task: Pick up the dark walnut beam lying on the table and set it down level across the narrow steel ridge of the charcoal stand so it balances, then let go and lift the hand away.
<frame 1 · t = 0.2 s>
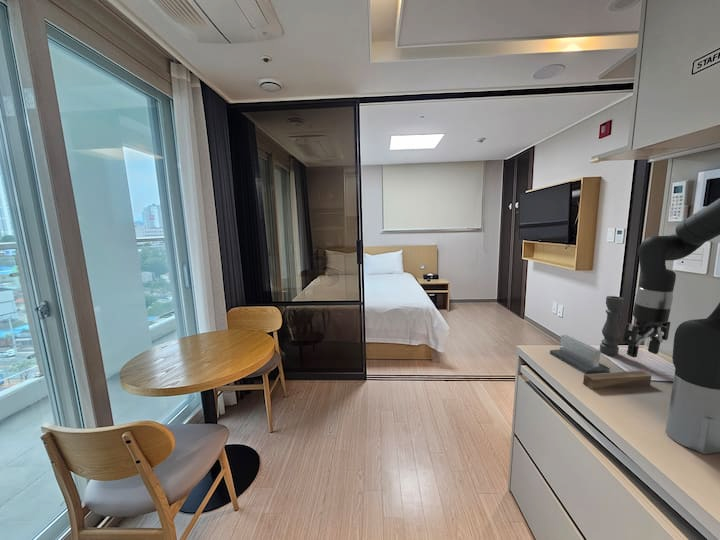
hand: (642, 354, 88), 17 cm above the worktop, tool pointing down, fingers open, 8 cm apart
candle holder: (608, 353, 127), on the worktop
walnut beam: (616, 385, 103), on the worktop
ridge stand: (577, 362, 120), on the worktop
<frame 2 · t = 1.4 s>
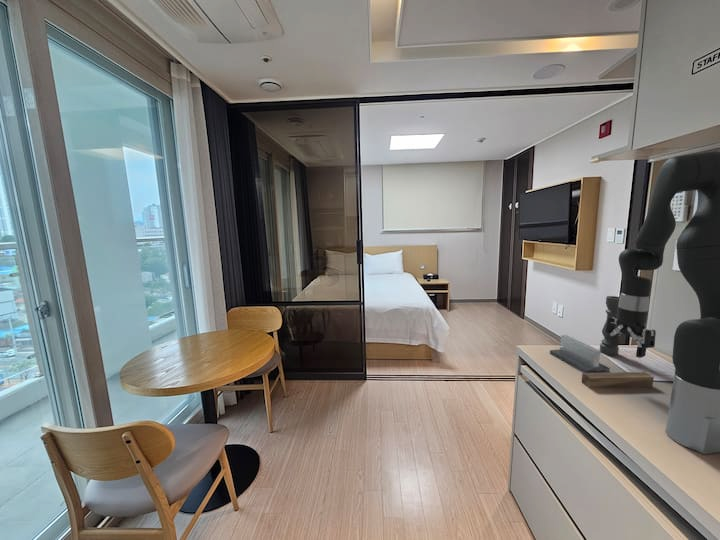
hand: (626, 351, 102), 12 cm above the worktop, tool pointing down, fingers open, 8 cm apart
nothing on the worktop moved.
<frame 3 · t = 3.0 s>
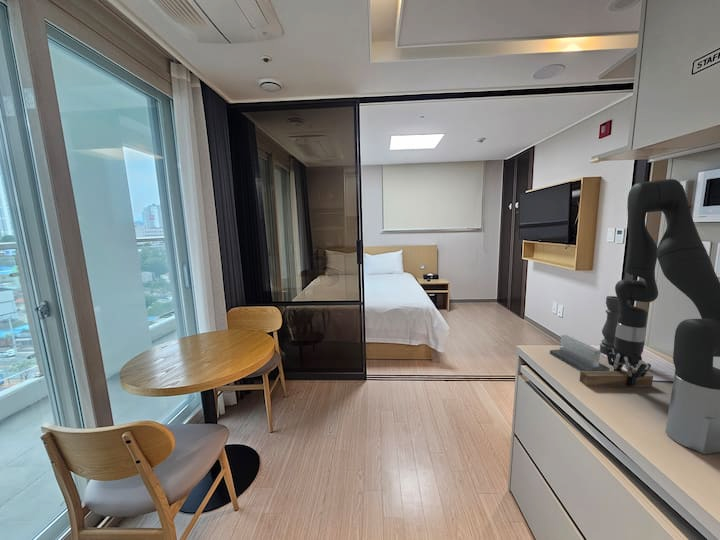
hand: (623, 382, 104), 1 cm above the worktop, tool pointing down, fingers closed on walnut beam, 4 cm apart
walnut beam: (614, 383, 104), on the worktop, touching gripper
everything else where it was.
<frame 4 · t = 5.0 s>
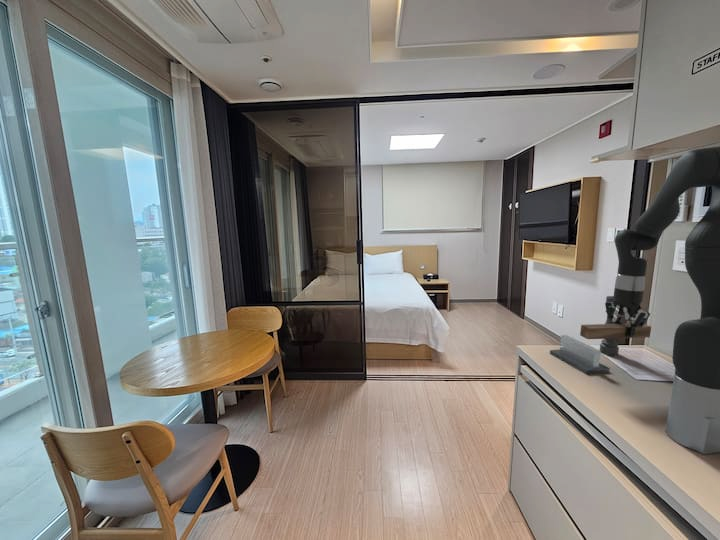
hand: (622, 334, 103), 18 cm above the worktop, tool pointing down, fingers closed on walnut beam, 3 cm apart
walnut beam: (614, 336, 103), point 17 cm above the worktop, touching gripper
everything else where it was.
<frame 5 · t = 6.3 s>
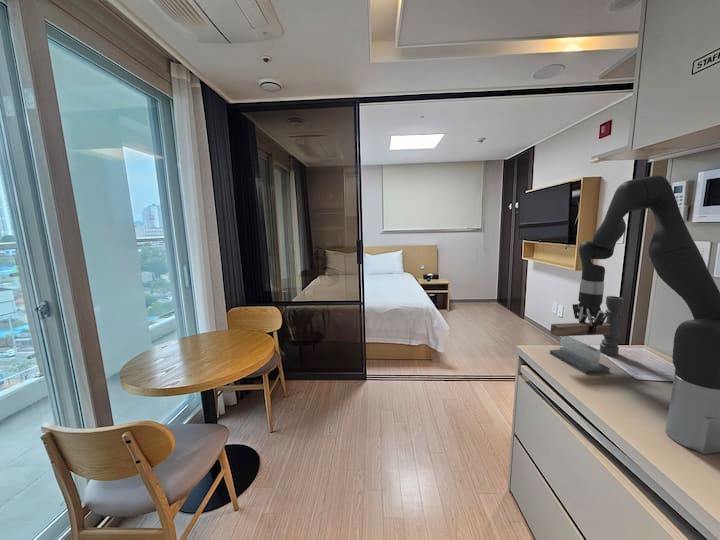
hand: (586, 331, 118), 13 cm above the worktop, tool pointing down, fingers closed on walnut beam, 3 cm apart
walnut beam: (579, 333, 118), point 12 cm above the worktop, touching gripper
everything else where it was.
when the fingers open (10 cm above the worktop, at t = 7.1 s): walnut beam stays where it is, resting on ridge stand.
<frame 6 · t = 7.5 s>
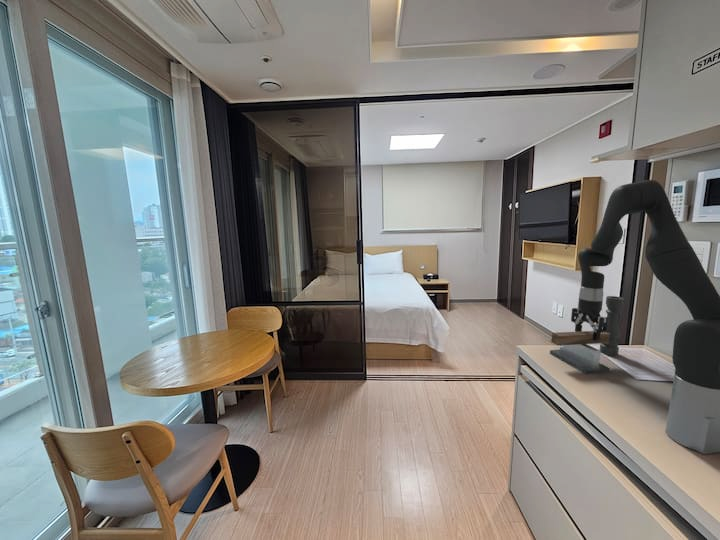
hand: (586, 336, 119), 11 cm above the worktop, tool pointing down, fingers open, 7 cm apart
walnut beam: (579, 342, 119), point 9 cm above the worktop, touching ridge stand
everything else where it was.
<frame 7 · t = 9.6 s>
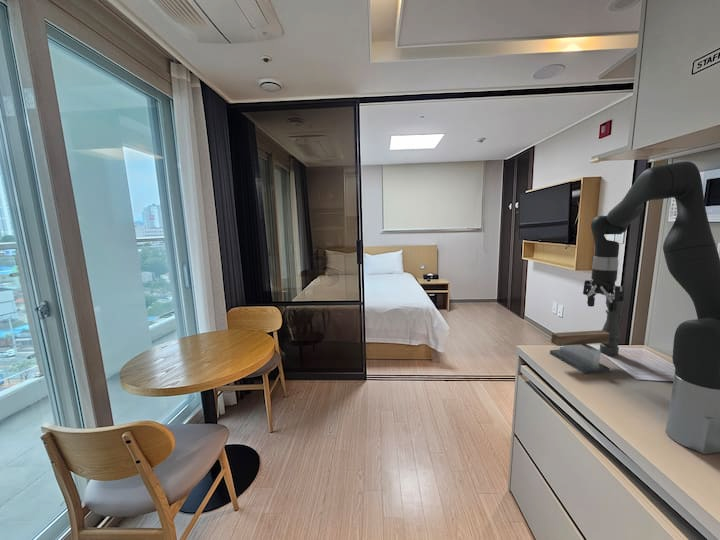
hand: (600, 309, 114), 23 cm above the worktop, tool pointing down, fingers open, 8 cm apart
nothing on the worktop moved.
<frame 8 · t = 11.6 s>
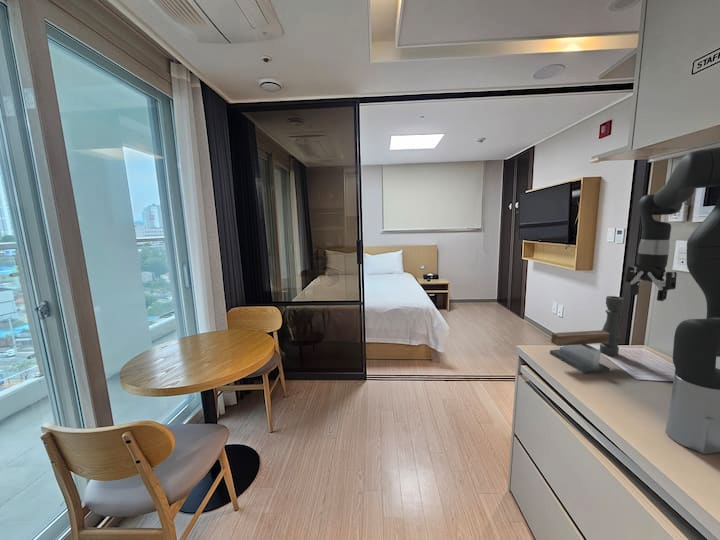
hand: (646, 297, 104), 30 cm above the worktop, tool pointing down, fingers open, 8 cm apart
nothing on the worktop moved.
at the end: walnut beam 0.2 cm off-centre on the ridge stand, point 8.5 cm above the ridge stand's base; walnut beam tilted 0°; the gripper is holding nothing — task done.
